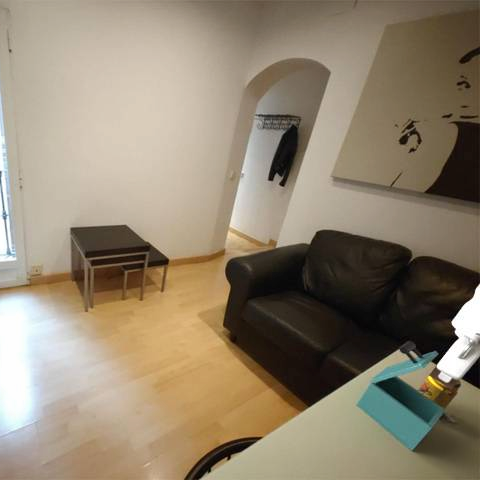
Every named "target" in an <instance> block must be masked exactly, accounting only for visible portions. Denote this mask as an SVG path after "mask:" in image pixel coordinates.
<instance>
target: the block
mask: <svg viewBox="0 0 480 480" xmlns="http://www.w3.org/2000/svg"><path fill="white" fill-rule="evenodd" d="M437 365H438V363H437V364H436V365H435V367H434V368H433V369H432V370H431V372H430V373H429V374H428V376H430V377H432V378H433V379H435V380H437V381H438V382H440V383H441V384H443V385H445V386H446V387H448V388H449V389H451V390H452V388H453V387H454V386H455V385H456V384H457V383H458V381H460V380H461V379H459V380H456V379H454V378H452V379H451V380H450V381H449V382H448V383H447V382H445V381H443V380H441V379H440V378H439V377H438V375H439V374H440V373H441V372H442V371H440V370H439V369H438V368H437Z"/></svg>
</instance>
